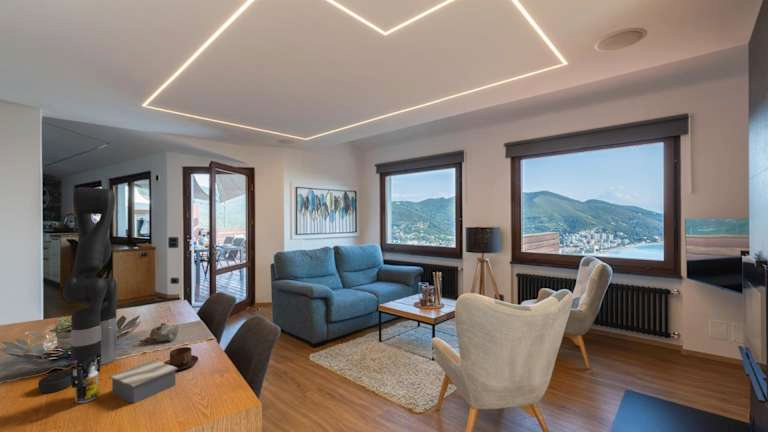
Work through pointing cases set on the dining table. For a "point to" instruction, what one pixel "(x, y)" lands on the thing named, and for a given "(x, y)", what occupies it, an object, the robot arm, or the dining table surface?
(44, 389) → the smart speaker
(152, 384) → the plinth
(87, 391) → the supplement bottle
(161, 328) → the ceramic sculpture
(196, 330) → the dining table surface
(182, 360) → the cup and saucer
